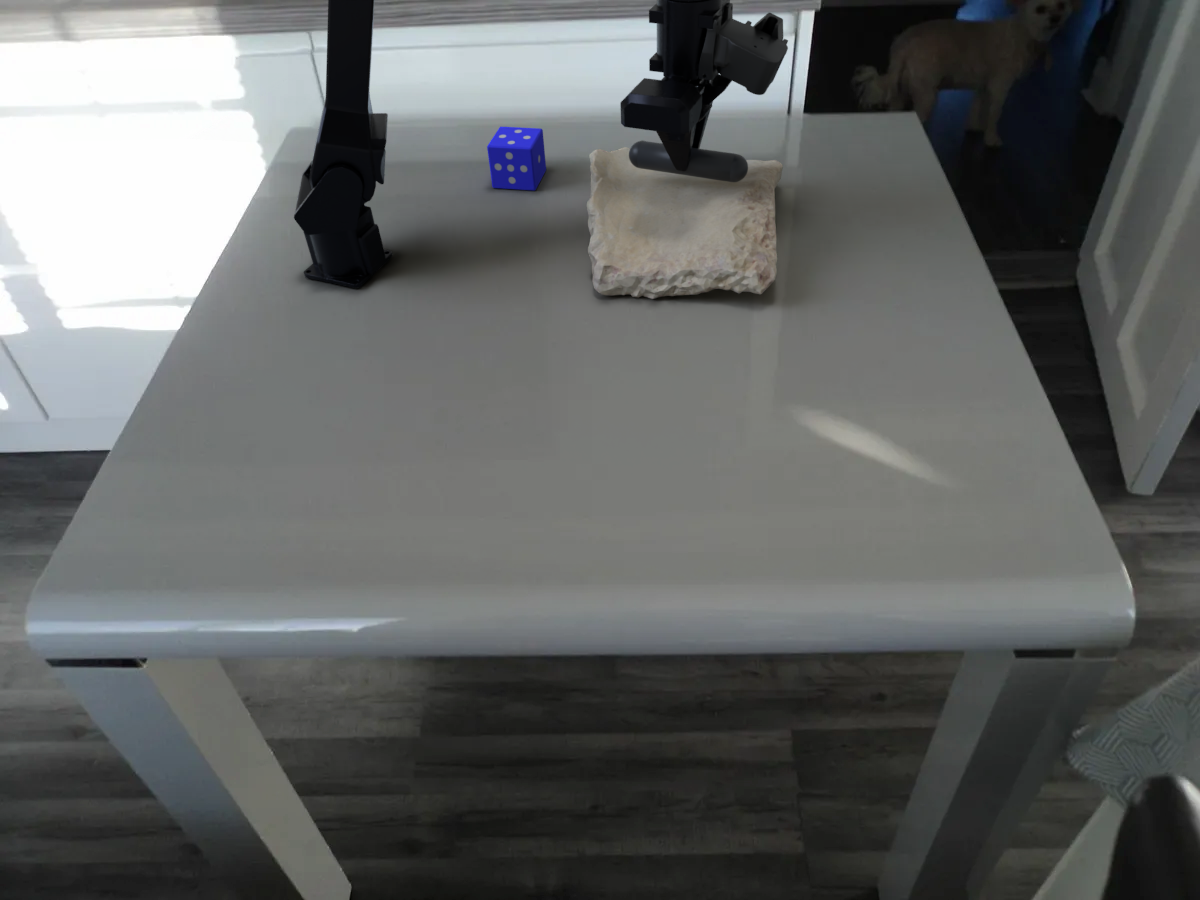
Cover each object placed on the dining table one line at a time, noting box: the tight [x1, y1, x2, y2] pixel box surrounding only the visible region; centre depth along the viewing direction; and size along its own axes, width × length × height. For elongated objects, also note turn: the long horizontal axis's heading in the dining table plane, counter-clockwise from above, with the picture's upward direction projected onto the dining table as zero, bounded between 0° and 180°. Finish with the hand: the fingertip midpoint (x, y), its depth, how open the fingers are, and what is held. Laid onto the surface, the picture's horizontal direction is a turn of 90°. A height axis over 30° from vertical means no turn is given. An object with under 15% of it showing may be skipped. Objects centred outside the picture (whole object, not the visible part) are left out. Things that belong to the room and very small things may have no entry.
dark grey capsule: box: [629, 140, 748, 182], centre depth 88 cm, size 12×3×3 cm, turn 67°
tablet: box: [586, 147, 784, 300], centre depth 89 cm, size 24×8×20 cm
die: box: [486, 126, 547, 192], centre depth 101 cm, size 5×5×5 cm
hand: (686, 163), depth 88 cm, fingers closed on dark grey capsule, 2 cm apart
